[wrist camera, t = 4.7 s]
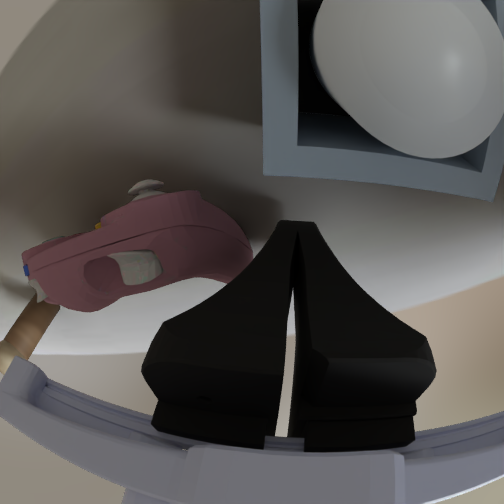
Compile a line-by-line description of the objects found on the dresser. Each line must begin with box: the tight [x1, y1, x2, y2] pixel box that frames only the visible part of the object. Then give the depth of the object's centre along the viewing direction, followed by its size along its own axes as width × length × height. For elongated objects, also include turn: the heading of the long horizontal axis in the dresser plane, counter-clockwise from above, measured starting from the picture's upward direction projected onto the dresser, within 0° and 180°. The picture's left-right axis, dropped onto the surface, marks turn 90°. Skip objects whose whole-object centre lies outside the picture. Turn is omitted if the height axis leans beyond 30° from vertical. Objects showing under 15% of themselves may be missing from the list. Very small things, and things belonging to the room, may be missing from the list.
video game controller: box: [22, 179, 253, 312], centre depth 11 cm, size 10×5×7 cm, turn 110°
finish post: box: [0, 293, 60, 375], centre depth 16 cm, size 3×3×8 cm
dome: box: [309, 0, 504, 158], centre depth 4 cm, size 4×4×4 cm
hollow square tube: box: [260, 0, 504, 202], centre depth 6 cm, size 6×6×4 cm
